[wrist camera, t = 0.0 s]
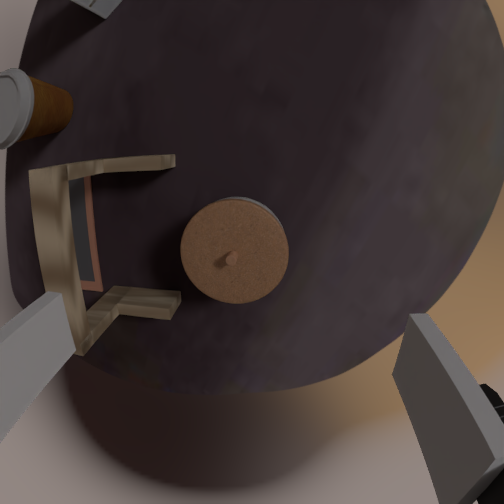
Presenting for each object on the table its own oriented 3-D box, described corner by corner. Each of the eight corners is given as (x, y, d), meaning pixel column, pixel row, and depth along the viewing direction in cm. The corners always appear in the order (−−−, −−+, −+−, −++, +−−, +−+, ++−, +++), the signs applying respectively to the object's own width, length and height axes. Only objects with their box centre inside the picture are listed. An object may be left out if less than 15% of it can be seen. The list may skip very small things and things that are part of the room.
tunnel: (102, 158, 37) (28, 170, 23) (175, 154, 36) (118, 161, 23) (115, 295, 43) (61, 351, 29) (181, 301, 42) (142, 367, 29)
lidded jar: (279, 182, 37) (280, 194, 28) (292, 269, 40) (295, 305, 31) (189, 197, 38) (163, 213, 29) (207, 280, 41) (189, 316, 32)
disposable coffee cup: (36, 151, 37) (-23, 159, 26) (31, 90, 34) (-26, 86, 23) (86, 134, 36) (26, 136, 25) (81, 69, 33) (23, 53, 22)
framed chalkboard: (56, 166, 38) (55, 167, 37) (90, 163, 37) (88, 163, 37) (71, 287, 44) (69, 288, 43) (103, 290, 43) (102, 291, 43)
